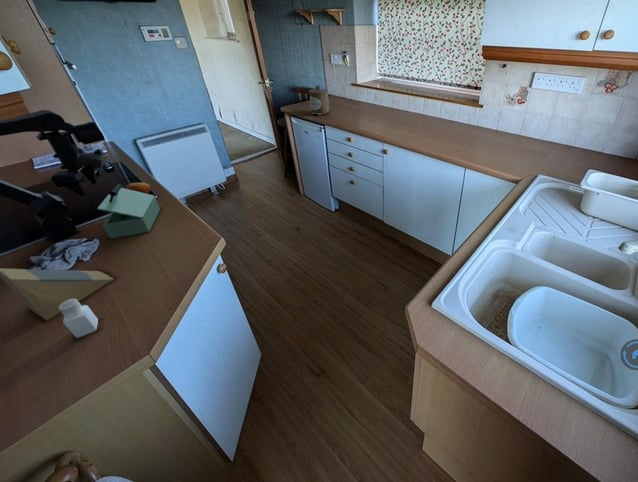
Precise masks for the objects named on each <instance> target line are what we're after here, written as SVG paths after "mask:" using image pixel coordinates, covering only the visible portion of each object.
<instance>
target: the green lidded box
mask: <svg viewBox="0 0 638 482" xmlns="http://www.w3.org/2000/svg"><path fill="white" fill-rule="evenodd" d="M160 211H161V208H160V206H159V203H158V201H157V199H156V197H155V196H154V198H153V200H152V202H151V204H150V205H149V207H148V209H147V211H146V213H145V214H144V216H143V218H137V217H132V216H127V215H122V214H117V213H112V212H110V214H109V215H108V217H107V218H106V220H105V221H104V222H103V224H102V227H103V230H104V231H105V233H106V234H107V236H108V238H109V239H116V238H122V237H128V236H133V235H138V234H145V233H149V232H150V231H151V229H152V227H153V225H154V223H155V221H156V219H157V217H158V215H159V213H160Z"/></svg>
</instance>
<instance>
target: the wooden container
mask: <svg viewBox="0 0 638 482" xmlns="http://www.w3.org/2000/svg"><path fill="white" fill-rule="evenodd" d="M328 91H329V90H328V89H326V88H321V86H320V85H316V86H315V89H314V88H313V89H310V90H308V93H309V102H310V103H309V104H310V111H312V112H313V113H325V112H328V111H329V110H330V99H329V92H328ZM312 112H311V113H312Z"/></svg>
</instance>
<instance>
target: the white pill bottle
mask: <svg viewBox="0 0 638 482" xmlns="http://www.w3.org/2000/svg"><path fill="white" fill-rule="evenodd" d="M58 308H59V310H60V311H61V312H60V314H62V315H63V318H62V319H63V320H62V323H63V325H65V327H67V329H68V330H69V331H70V333H72V335H73V336H74V337H75V338H76V339H78V338H81V337H84V336H86V335H90V334H92V333H95V332H96V331H97V330H98V325H99V324H98V323H99V319H98V317H97V316H96V315H95V314H94V312H93V310H92V309H91V308H90V307H89V305H87V304H83V305H82V304H81V303H80V301H78V300H77V299H69V300H67V301H64V302H63V303H62V304H60V306H59V307H58Z"/></svg>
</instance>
